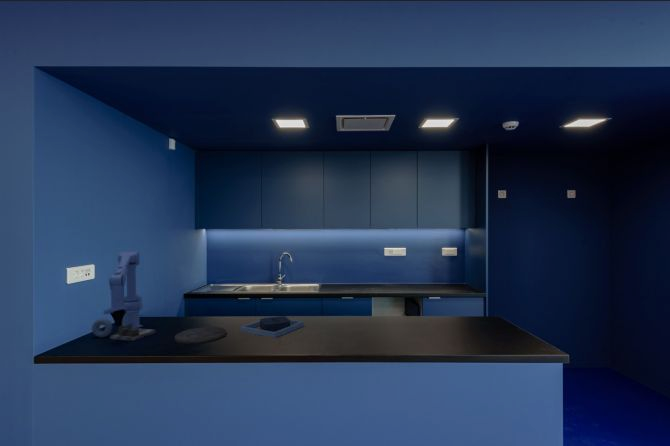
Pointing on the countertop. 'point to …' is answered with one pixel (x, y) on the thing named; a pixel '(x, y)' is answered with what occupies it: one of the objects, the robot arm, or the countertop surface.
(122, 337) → the stool seat
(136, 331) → the stool leg
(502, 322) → the countertop surface
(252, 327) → the tray
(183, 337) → the trivet
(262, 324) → the streaming box
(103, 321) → the donut
